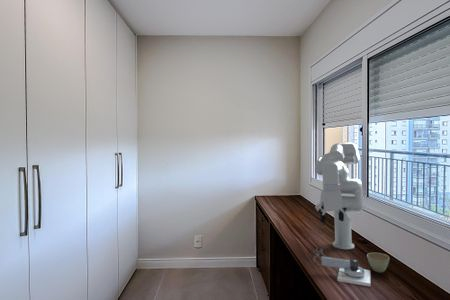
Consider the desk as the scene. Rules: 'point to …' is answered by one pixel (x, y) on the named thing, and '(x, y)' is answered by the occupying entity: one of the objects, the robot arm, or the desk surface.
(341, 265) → the dial
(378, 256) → the flower pot
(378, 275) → the desk surface
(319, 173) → the robot arm
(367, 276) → the dial plate
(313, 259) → the pliers
